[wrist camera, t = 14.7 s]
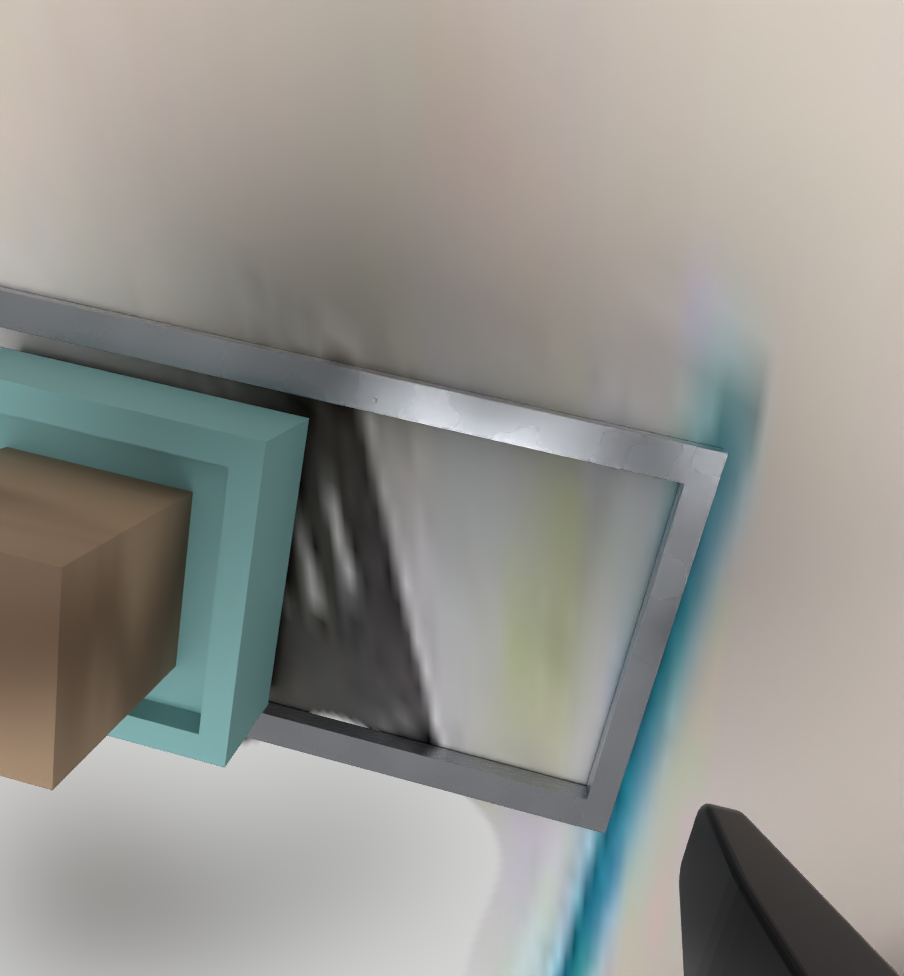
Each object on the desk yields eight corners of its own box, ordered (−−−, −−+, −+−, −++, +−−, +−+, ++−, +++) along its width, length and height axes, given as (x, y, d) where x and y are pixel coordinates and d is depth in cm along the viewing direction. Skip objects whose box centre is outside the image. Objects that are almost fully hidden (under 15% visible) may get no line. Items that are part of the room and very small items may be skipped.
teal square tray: (277, 691, 23) (224, 767, 19) (11, 621, 24) (-88, 682, 20) (317, 413, 20) (265, 442, 17) (16, 343, 21) (-96, 357, 17)
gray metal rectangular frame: (603, 819, 22) (606, 858, 21) (-46, 645, 24) (-87, 669, 23) (723, 448, 19) (737, 463, 17) (-48, 275, 21) (-97, 275, 19)
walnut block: (176, 665, 20) (52, 790, 15) (3, 620, 20) (-171, 727, 15) (193, 492, 18) (62, 567, 13) (7, 446, 18) (-186, 504, 14)
